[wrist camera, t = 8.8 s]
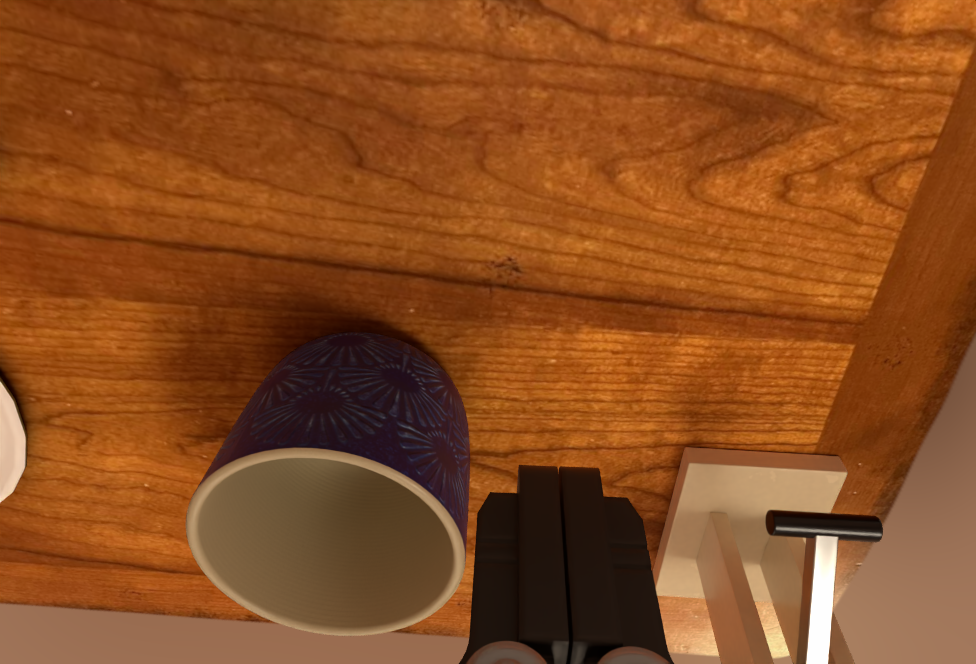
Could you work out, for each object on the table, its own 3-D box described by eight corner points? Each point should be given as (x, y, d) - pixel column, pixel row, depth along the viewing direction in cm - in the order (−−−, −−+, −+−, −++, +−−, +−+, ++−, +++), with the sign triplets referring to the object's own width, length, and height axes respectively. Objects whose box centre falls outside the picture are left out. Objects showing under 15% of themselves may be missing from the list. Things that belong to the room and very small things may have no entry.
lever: (760, 502, 34) (780, 517, 32) (864, 508, 34) (891, 524, 32) (742, 741, 35) (760, 774, 32) (844, 748, 35) (870, 781, 32)
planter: (517, 436, 41) (514, 597, 32) (344, 500, 45) (297, 661, 36) (405, 270, 35) (363, 408, 26) (217, 359, 39) (123, 507, 30)
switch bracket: (684, 446, 41) (752, 694, 29) (839, 455, 41) (975, 708, 29) (650, 578, 48) (693, 825, 35) (783, 586, 47) (874, 838, 35)
